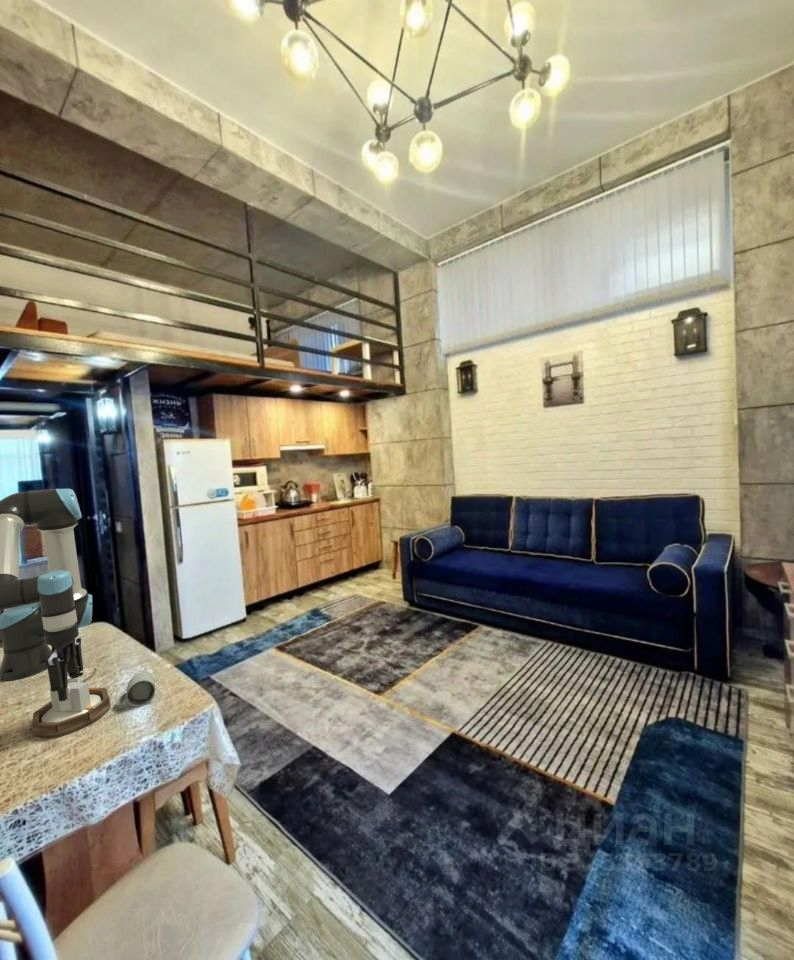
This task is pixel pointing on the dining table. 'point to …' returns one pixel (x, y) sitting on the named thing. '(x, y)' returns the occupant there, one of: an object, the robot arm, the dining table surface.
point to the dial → (79, 702)
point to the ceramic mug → (138, 691)
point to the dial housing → (73, 723)
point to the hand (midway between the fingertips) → (71, 704)
